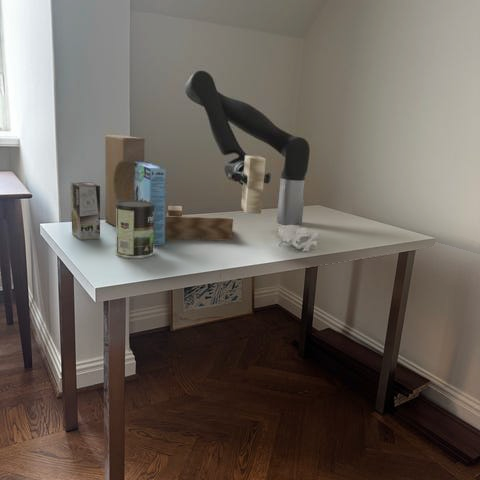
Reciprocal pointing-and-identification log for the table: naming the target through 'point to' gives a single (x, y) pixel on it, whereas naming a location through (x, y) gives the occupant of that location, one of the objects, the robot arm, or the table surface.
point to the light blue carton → (152, 194)
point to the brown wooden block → (198, 228)
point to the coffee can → (134, 228)
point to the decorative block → (120, 170)
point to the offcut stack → (174, 211)
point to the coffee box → (85, 210)
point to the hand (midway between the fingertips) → (254, 180)
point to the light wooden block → (253, 184)
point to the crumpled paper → (296, 237)
